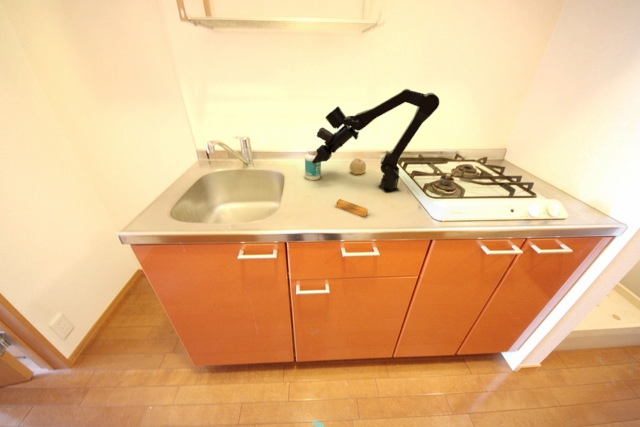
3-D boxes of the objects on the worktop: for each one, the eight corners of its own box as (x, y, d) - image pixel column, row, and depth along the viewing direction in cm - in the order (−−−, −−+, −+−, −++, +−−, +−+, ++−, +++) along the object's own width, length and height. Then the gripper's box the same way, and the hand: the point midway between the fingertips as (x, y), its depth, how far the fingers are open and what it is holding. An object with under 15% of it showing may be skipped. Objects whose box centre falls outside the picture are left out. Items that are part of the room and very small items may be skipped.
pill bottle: (318, 181, 106) (319, 152, 99) (303, 179, 107) (302, 151, 100) (321, 174, 112) (322, 147, 105) (307, 173, 113) (307, 146, 106)
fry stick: (336, 206, 87) (336, 201, 86) (339, 204, 89) (339, 198, 87) (364, 217, 81) (365, 211, 80) (367, 214, 83) (368, 208, 82)
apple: (349, 168, 119) (358, 155, 116) (361, 177, 117) (370, 165, 114) (344, 168, 112) (353, 155, 109) (357, 178, 110) (366, 165, 107)
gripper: (334, 117, 101) (311, 140, 110) (322, 126, 86) (296, 151, 95) (350, 137, 103) (326, 158, 112) (340, 149, 89) (313, 171, 97)
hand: (316, 159), depth 104 cm, fingers open, 9 cm apart
